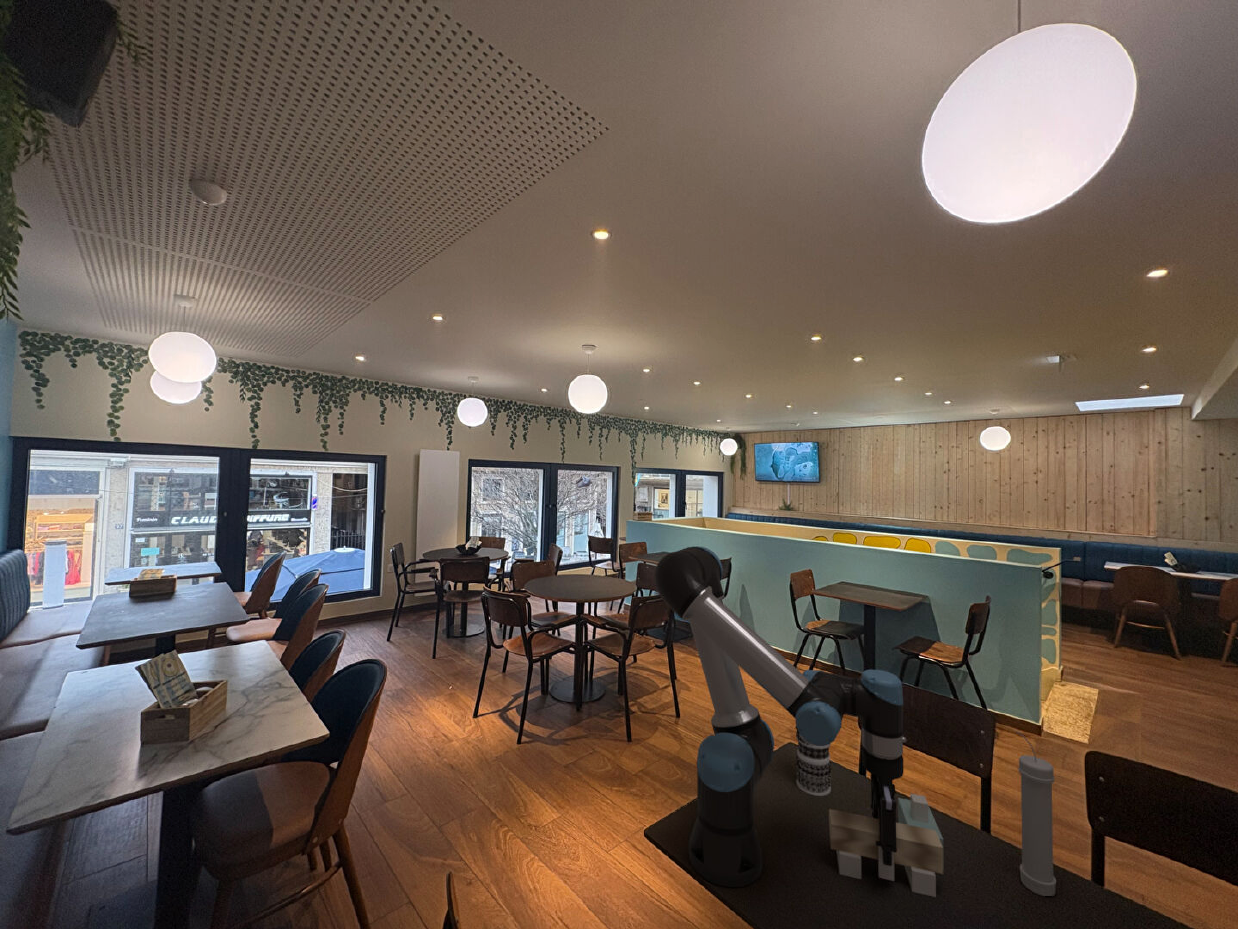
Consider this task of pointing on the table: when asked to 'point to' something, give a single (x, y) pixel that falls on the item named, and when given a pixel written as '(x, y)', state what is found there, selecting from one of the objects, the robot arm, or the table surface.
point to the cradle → (917, 877)
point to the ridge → (917, 814)
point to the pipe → (1037, 824)
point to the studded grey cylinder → (813, 767)
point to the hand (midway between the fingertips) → (883, 865)
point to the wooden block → (863, 832)
